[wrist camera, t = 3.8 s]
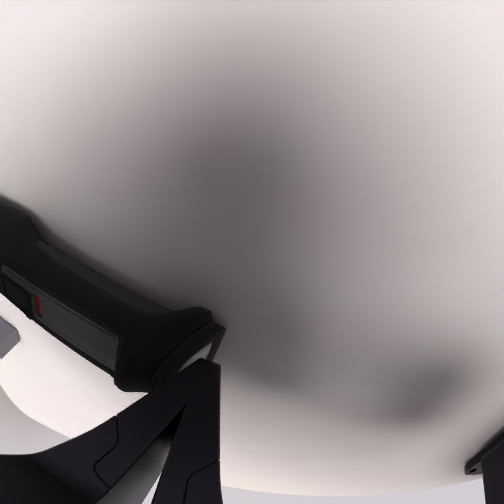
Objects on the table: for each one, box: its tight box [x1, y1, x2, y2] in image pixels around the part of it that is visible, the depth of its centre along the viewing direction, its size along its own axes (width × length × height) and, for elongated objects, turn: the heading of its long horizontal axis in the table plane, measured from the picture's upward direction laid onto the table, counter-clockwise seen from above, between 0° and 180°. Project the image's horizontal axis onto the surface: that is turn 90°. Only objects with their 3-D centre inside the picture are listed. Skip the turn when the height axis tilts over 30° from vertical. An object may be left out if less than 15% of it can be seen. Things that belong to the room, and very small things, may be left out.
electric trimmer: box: [0, 203, 226, 393], centre depth 10 cm, size 4×16×3 cm, turn 69°
